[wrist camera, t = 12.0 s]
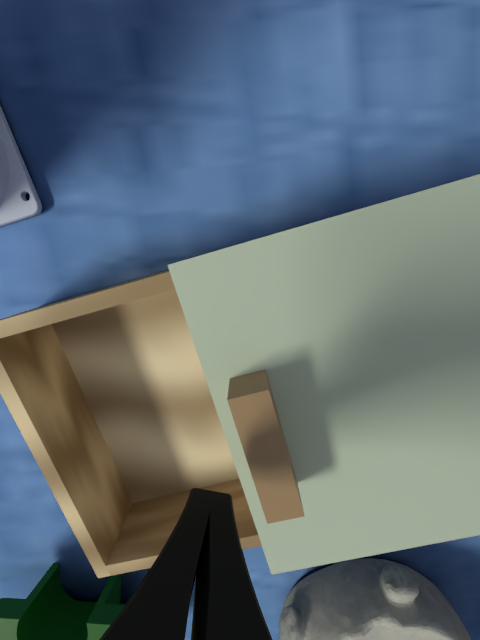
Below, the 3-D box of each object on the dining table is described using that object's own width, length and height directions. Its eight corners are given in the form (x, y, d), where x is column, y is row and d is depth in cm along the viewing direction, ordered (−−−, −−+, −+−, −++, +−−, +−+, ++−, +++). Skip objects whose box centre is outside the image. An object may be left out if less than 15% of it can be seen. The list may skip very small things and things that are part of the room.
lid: (182, 260, 14) (153, 269, 10) (484, 172, 13) (603, 138, 9) (268, 525, 18) (275, 616, 14) (506, 476, 17) (597, 558, 13)
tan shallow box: (38, 307, 19) (-33, 330, 14) (302, 230, 18) (324, 226, 13) (129, 506, 23) (98, 578, 18) (353, 457, 21) (384, 521, 16)
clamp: (149, 528, 29) (163, 617, 21) (145, 590, 29) (159, 703, 21) (-6, 562, 24) (-68, 694, 16) (-9, 635, 24) (-73, 806, 16)
